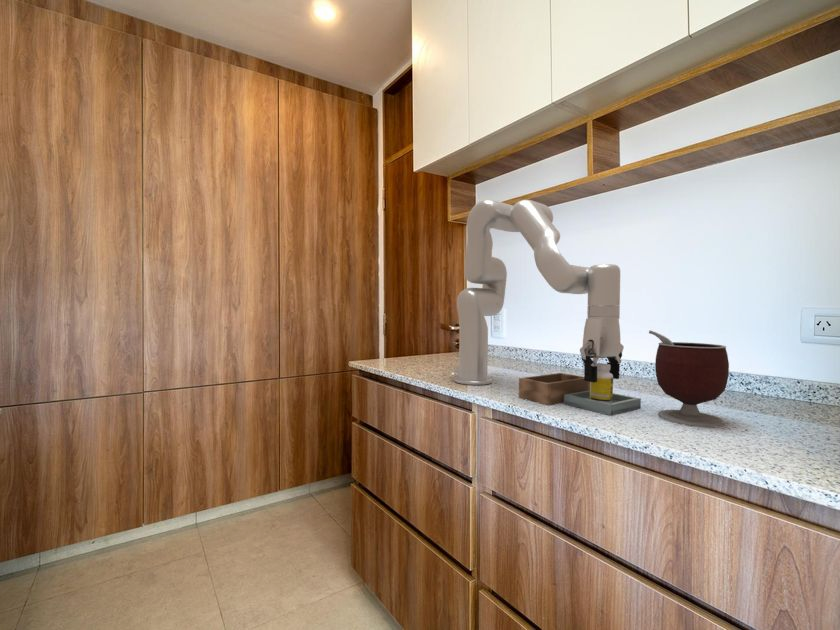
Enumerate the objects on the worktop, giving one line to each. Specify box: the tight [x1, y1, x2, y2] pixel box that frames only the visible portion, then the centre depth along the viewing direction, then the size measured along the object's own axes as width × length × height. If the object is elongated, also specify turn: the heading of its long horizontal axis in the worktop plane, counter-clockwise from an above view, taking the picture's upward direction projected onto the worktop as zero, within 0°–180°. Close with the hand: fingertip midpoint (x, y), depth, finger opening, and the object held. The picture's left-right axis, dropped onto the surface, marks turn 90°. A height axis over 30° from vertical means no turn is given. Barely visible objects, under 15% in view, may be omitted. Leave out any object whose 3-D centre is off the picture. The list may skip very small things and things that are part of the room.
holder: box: [518, 372, 590, 406], centre depth 114 cm, size 10×18×6 cm, turn 123°
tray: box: [563, 390, 642, 417], centre depth 104 cm, size 13×13×2 cm
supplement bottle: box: [590, 362, 614, 404], centre depth 104 cm, size 5×5×10 cm
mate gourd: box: [648, 329, 730, 428], centre depth 93 cm, size 16×14×20 cm
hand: (602, 379), depth 104 cm, fingers open, 9 cm apart
